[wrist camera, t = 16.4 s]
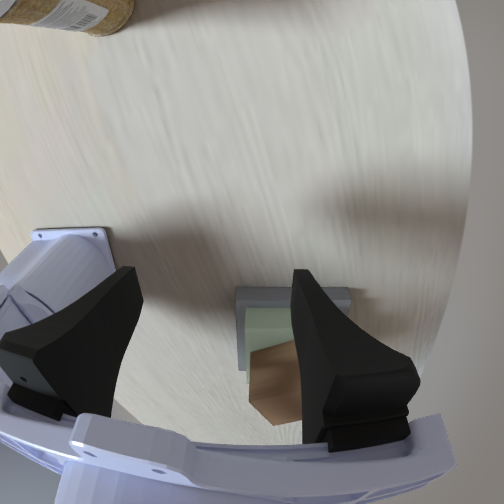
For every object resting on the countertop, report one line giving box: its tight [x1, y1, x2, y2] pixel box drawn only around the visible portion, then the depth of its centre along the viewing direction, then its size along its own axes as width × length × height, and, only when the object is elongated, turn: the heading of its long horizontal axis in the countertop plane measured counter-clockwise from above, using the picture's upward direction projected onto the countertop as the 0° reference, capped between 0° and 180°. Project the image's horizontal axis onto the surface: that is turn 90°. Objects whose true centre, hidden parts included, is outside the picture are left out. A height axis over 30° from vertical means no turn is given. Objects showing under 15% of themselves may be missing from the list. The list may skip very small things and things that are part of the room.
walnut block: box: [249, 340, 302, 426], centre depth 23 cm, size 5×5×5 cm
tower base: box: [235, 287, 352, 371], centre depth 28 cm, size 10×10×2 cm
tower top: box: [245, 306, 339, 384], centre depth 26 cm, size 8×8×2 cm
